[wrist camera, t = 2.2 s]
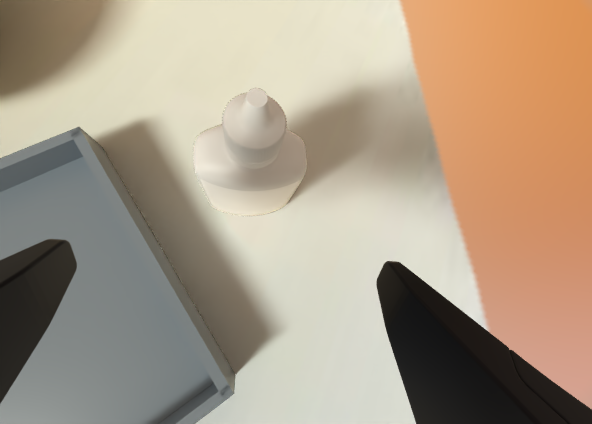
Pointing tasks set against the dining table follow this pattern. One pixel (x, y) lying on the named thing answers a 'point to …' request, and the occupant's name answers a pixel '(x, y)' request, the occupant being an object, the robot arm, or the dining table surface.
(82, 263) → the slate tray
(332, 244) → the dining table surface
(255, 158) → the eye dropper bottle
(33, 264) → the robot arm
